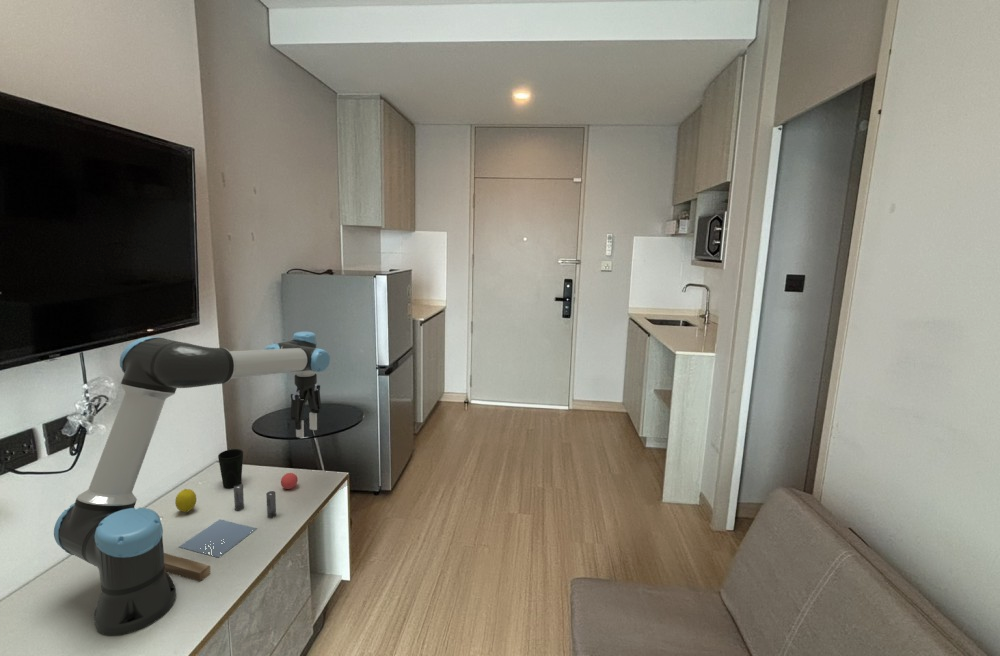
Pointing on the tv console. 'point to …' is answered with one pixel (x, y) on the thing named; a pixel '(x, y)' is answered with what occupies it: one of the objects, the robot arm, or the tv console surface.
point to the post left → (238, 497)
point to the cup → (231, 467)
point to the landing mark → (218, 538)
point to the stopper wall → (186, 567)
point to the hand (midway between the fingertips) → (306, 432)
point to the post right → (271, 504)
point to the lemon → (185, 500)
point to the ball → (289, 480)
